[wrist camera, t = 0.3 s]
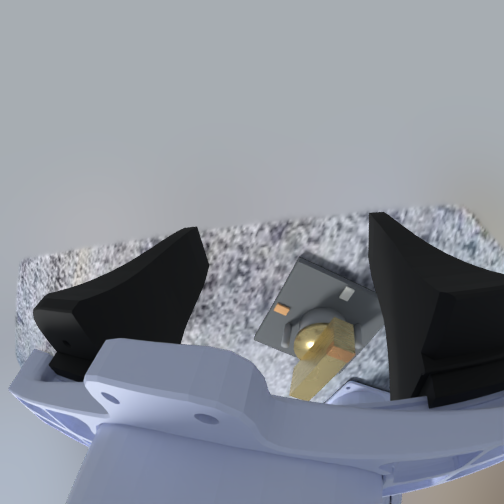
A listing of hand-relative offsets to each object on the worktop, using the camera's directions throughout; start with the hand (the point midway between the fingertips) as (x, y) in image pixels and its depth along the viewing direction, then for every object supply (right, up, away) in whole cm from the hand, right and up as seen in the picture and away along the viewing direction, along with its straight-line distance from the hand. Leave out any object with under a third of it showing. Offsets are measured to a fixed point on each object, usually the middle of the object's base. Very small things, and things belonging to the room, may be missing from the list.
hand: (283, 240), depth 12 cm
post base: (+5, -7, +15) cm, 17 cm away
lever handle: (+5, -8, +12) cm, 15 cm away
